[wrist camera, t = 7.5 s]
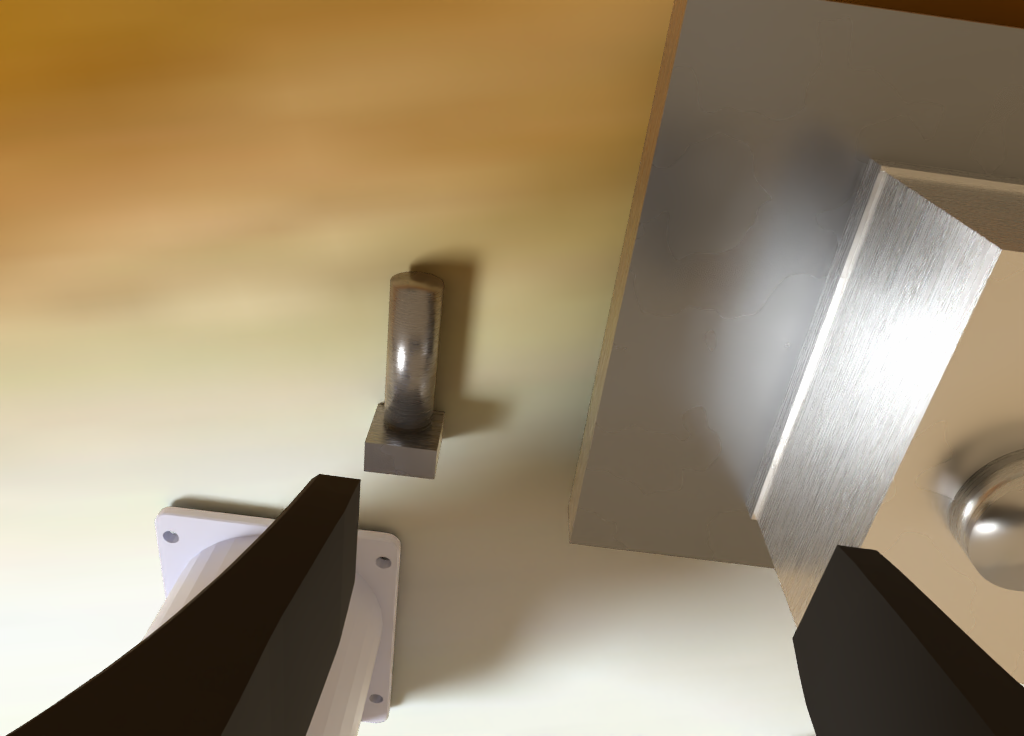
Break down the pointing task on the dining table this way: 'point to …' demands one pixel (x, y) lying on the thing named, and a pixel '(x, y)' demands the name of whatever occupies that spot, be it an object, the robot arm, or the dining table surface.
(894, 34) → the stand
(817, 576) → the block
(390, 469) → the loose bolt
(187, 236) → the dining table surface
